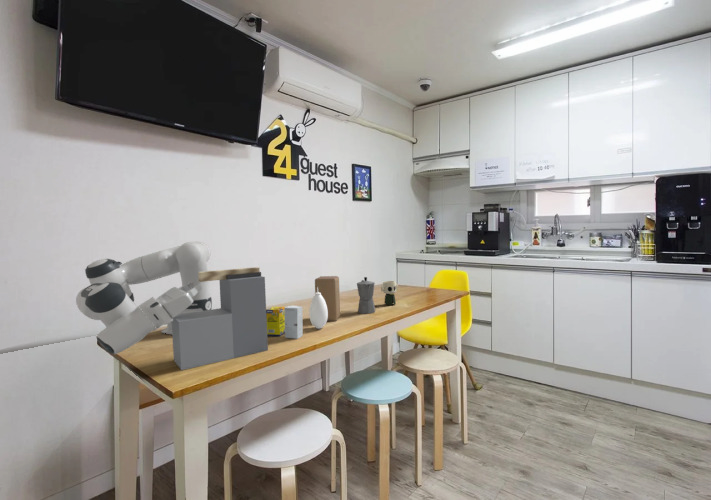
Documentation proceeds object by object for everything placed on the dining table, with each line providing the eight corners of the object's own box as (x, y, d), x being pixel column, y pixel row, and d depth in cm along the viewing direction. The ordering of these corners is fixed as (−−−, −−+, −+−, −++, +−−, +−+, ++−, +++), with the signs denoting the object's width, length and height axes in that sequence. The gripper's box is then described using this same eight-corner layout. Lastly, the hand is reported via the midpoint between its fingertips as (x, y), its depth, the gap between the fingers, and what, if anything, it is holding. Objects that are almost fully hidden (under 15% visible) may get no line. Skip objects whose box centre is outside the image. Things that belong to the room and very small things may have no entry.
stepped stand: (181, 370, 109) (176, 280, 108) (173, 360, 119) (169, 277, 118) (267, 350, 126) (264, 272, 125) (255, 342, 136) (251, 270, 135)
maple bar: (201, 281, 117) (200, 272, 116) (198, 281, 119) (198, 272, 119) (259, 275, 129) (259, 267, 128) (256, 275, 131) (256, 267, 131)
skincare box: (284, 337, 141) (283, 307, 140) (290, 334, 145) (289, 305, 145) (298, 339, 139) (296, 308, 138) (303, 335, 143) (302, 305, 142)
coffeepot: (379, 314, 178) (377, 278, 177) (360, 315, 176) (359, 279, 175) (371, 308, 193) (370, 274, 192) (354, 309, 191) (353, 275, 190)
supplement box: (280, 336, 143) (279, 309, 142) (266, 336, 144) (265, 309, 144) (286, 332, 149) (285, 306, 148) (272, 332, 150) (271, 306, 149)
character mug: (385, 306, 194) (384, 283, 194) (378, 304, 201) (377, 281, 200) (401, 304, 199) (401, 281, 199) (394, 302, 206) (394, 280, 205)
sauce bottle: (330, 326, 157) (329, 285, 156) (325, 330, 149) (323, 288, 149) (313, 325, 159) (312, 285, 158) (307, 330, 151) (305, 288, 150)
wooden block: (320, 316, 176) (319, 276, 176) (340, 316, 175) (339, 275, 174) (315, 321, 167) (314, 278, 166) (336, 321, 165) (335, 278, 164)
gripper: (157, 314, 119) (194, 289, 126) (169, 325, 103) (211, 296, 110) (145, 299, 117) (184, 274, 124) (155, 308, 101) (199, 279, 108)
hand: (197, 284), depth 117 cm, fingers open, 8 cm apart
